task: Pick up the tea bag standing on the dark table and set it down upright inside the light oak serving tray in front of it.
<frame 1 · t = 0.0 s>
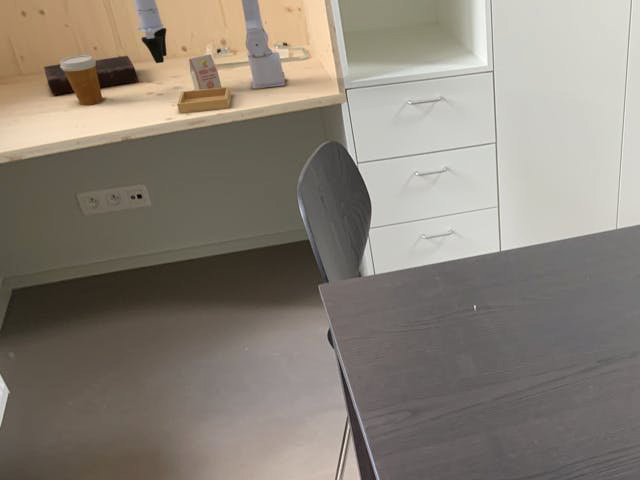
hand: (161, 59, 230), 10 cm above the table, tool pointing down, fingers open, 7 cm apart
disposable coffee cup: (91, 102, 234), on the table
tray: (206, 103, 227), on the table
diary: (94, 83, 250), on the table
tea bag: (209, 91, 238), on the table
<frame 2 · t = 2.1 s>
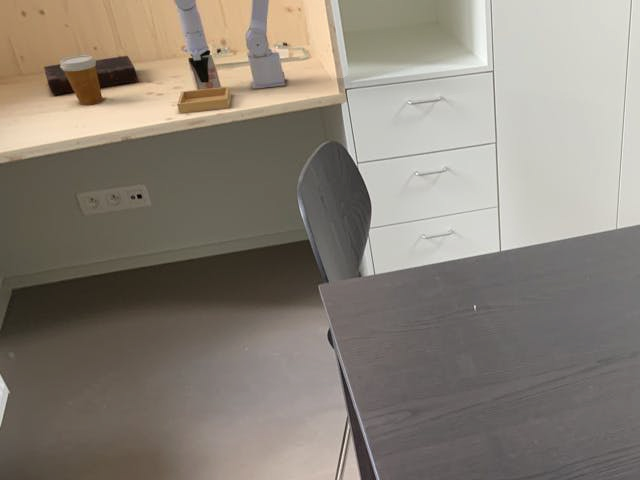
hand: (205, 79, 235), 3 cm above the table, tool pointing down, fingers closed on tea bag, 5 cm apart
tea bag: (209, 92, 238), on the table, touching gripper
everything else where it was.
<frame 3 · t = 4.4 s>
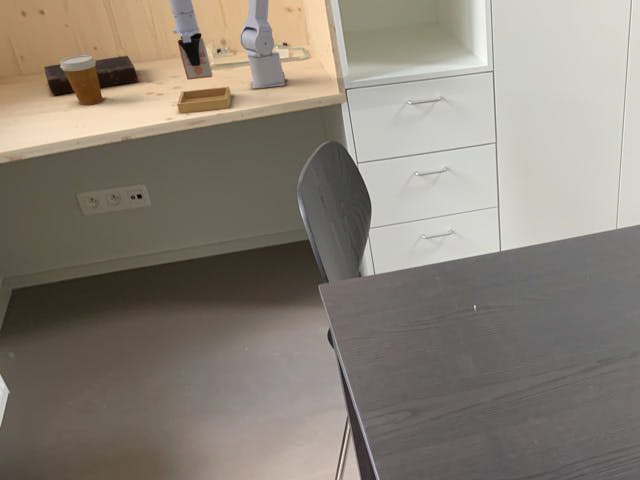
hand: (196, 63, 224), 10 cm above the table, tool pointing down, fingers closed on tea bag, 4 cm apart
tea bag: (200, 77, 226), point 7 cm above the table, touching gripper
everything else where it was.
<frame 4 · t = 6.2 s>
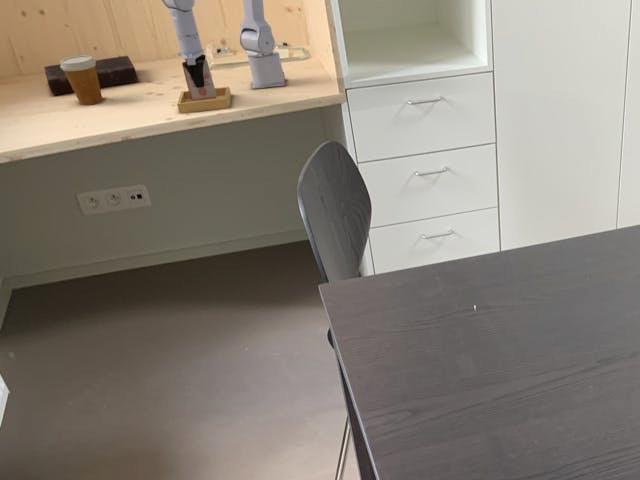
hand: (201, 85, 224), 5 cm above the table, tool pointing down, fingers closed on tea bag, 4 cm apart
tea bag: (204, 98, 226), point 2 cm above the table, touching gripper
everything else where it was.
when the fingers open (4 cm above the table, at t = 7.0 s): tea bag stays where it is, resting on tray.
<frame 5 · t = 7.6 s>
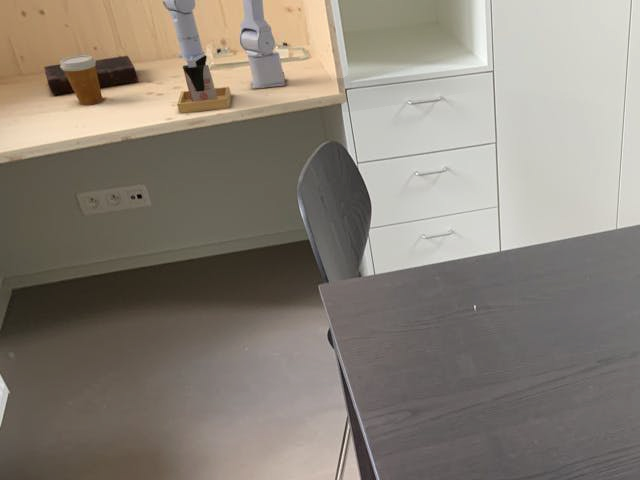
hand: (201, 87, 225), 5 cm above the table, tool pointing down, fingers open, 7 cm apart
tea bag: (205, 102, 227), resting on tray
everything else where it was.
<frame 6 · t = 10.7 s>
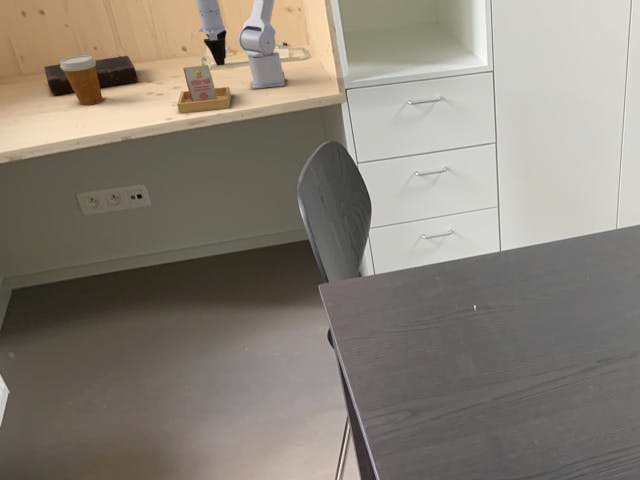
hand: (221, 61, 226), 10 cm above the table, tool pointing down, fingers open, 7 cm apart
nothing on the table moved.
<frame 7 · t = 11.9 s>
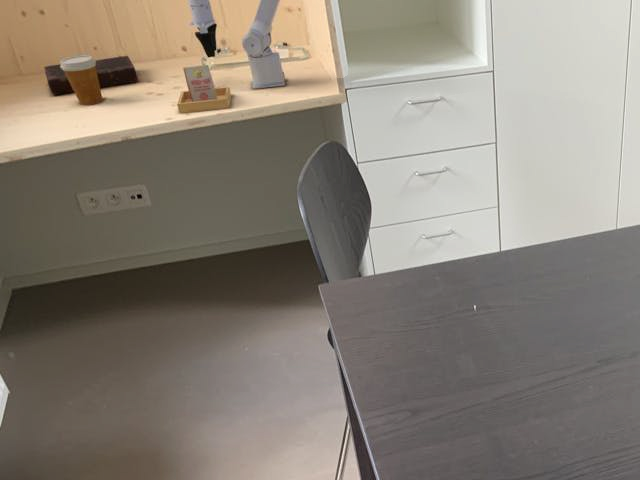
hand: (212, 53, 236), 9 cm above the table, tool pointing down, fingers open, 7 cm apart
nothing on the table moved.
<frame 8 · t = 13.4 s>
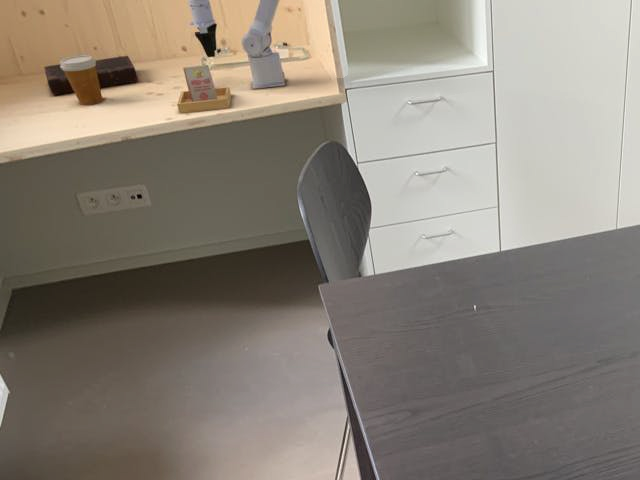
hand: (212, 53, 236), 9 cm above the table, tool pointing down, fingers open, 7 cm apart
nothing on the table moved.
at the end: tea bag inside the target area in the tray (0.1 cm from its centre), point 0.3 cm above the tray's base; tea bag tilted 0°; the gripper is holding nothing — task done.
